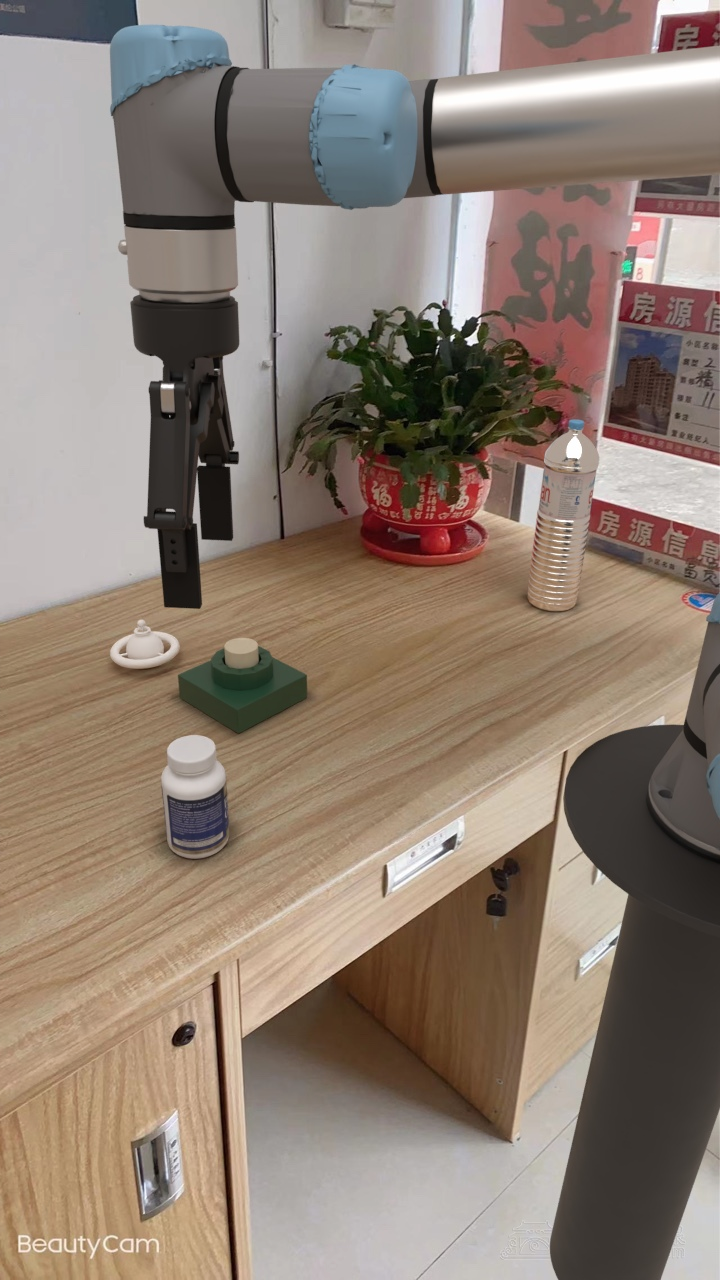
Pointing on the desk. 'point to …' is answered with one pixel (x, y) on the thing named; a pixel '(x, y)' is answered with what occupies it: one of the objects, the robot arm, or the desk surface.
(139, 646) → the ring around a ball
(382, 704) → the desk surface
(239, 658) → the cream cylindrical peg
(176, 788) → the pill bottle
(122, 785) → the desk surface
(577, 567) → the water bottle
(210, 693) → the green square peg base
